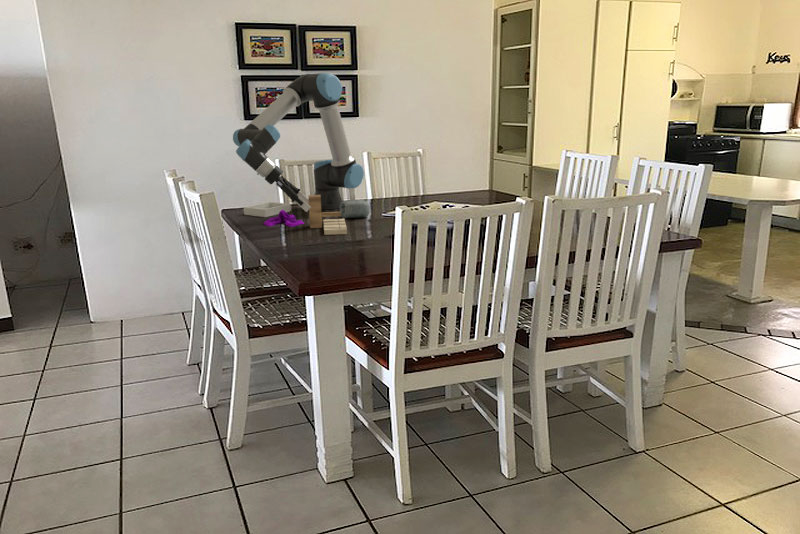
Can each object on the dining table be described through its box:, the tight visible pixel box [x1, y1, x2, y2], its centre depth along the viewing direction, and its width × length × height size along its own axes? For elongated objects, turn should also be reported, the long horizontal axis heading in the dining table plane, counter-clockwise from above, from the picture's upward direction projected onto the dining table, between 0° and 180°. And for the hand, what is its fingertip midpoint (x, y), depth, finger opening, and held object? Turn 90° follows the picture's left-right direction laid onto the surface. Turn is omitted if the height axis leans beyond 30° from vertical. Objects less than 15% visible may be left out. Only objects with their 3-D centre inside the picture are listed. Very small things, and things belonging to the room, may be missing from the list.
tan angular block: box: [307, 194, 342, 229], centre depth 264 cm, size 5×13×13 cm, turn 98°
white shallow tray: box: [243, 201, 292, 218], centre depth 298 cm, size 17×14×4 cm
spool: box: [339, 199, 371, 220], centre depth 282 cm, size 14×10×10 cm
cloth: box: [263, 210, 305, 228], centre depth 276 cm, size 22×19×6 cm
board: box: [322, 218, 348, 236], centre depth 260 cm, size 22×9×2 cm, turn 8°
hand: (309, 206), depth 262 cm, fingers open, 13 cm apart
